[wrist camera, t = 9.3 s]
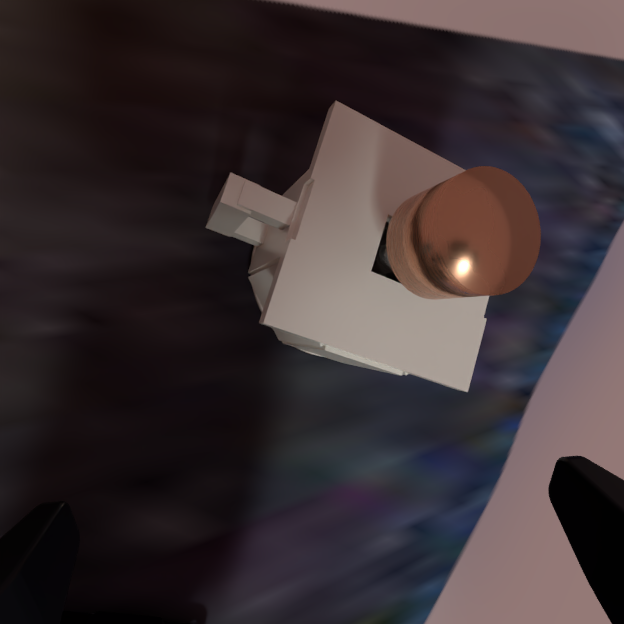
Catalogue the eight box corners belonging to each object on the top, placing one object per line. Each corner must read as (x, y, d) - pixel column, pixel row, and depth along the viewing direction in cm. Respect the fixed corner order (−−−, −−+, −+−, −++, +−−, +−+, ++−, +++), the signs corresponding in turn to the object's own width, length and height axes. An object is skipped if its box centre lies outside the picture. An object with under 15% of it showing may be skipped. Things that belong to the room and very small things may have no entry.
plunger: (375, 346, 20) (545, 366, 11) (266, 308, 19) (367, 297, 10) (407, 237, 21) (590, 177, 12) (304, 190, 19) (431, 82, 10)
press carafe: (381, 376, 21) (467, 398, 15) (175, 309, 18) (185, 304, 12) (423, 227, 22) (520, 194, 16) (235, 139, 19) (272, 59, 13)
